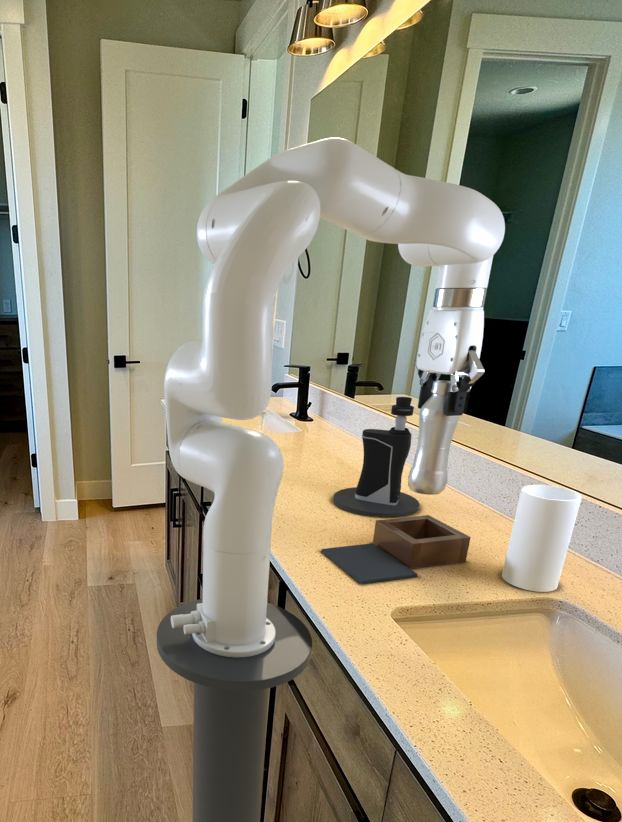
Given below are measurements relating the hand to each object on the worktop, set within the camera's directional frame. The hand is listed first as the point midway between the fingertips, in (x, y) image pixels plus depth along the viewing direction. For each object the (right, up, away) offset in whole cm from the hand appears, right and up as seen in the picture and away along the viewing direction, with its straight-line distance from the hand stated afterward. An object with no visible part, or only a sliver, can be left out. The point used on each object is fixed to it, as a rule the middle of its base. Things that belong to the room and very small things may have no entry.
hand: (439, 410), depth 99 cm
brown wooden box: (+1, -25, +10) cm, 27 cm away
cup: (+15, -30, -1) cm, 33 cm away
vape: (+2, -15, +36) cm, 39 cm away
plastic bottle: (0, -14, +6) cm, 15 cm away
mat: (-11, -27, +6) cm, 30 cm away
